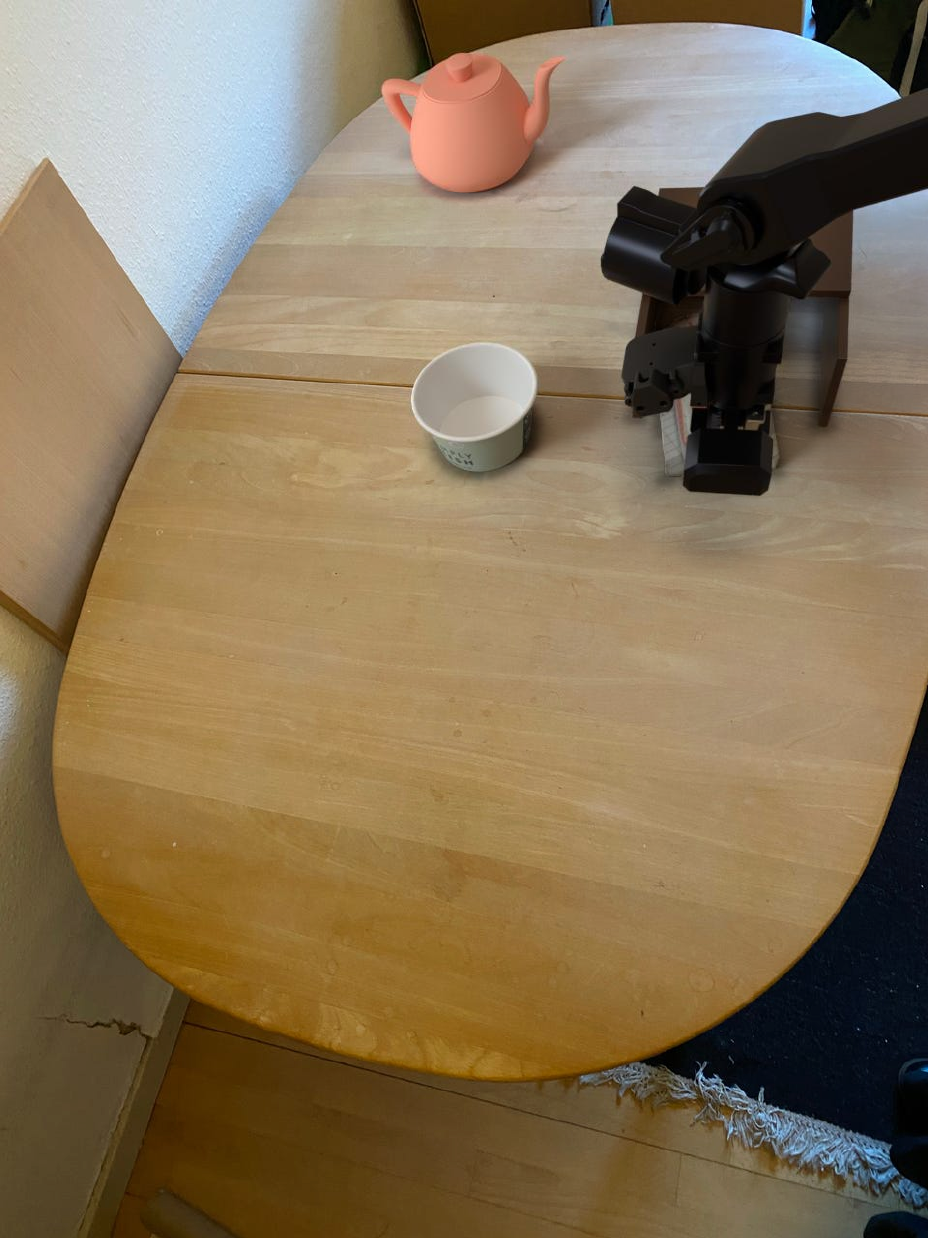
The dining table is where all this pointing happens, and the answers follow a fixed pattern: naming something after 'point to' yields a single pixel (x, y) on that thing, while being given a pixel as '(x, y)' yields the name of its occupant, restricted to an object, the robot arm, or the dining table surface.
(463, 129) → the teapot
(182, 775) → the dining table surface
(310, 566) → the dining table surface
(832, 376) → the cubby shelf
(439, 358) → the food container
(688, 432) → the packaged product
